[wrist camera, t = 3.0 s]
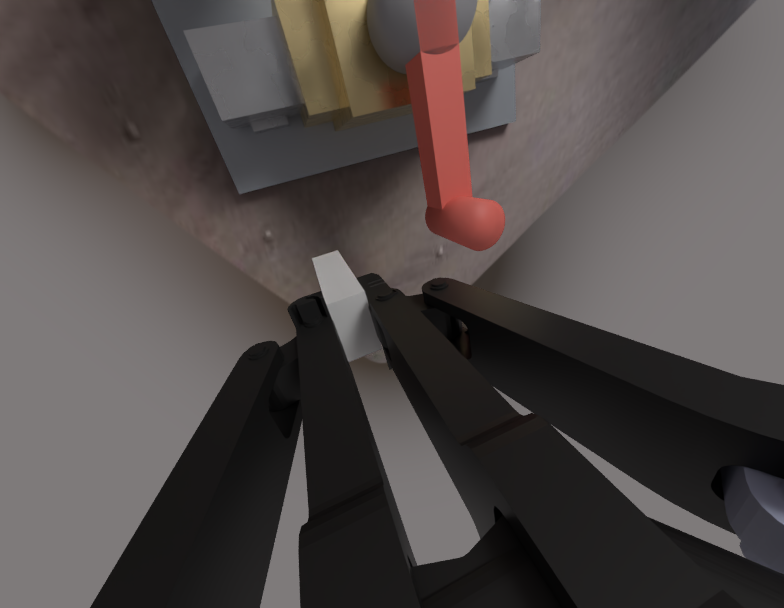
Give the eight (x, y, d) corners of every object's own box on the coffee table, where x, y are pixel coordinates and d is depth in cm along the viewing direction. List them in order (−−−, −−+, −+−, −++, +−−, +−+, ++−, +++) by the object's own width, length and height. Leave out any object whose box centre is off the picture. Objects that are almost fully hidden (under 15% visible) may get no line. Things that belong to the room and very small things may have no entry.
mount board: (503, -60, 22) (512, -70, 21) (508, 122, 28) (515, 121, 27) (148, -14, 17) (140, -23, 16) (241, 193, 23) (239, 194, 22)
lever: (356, -31, 14) (393, -142, 9) (438, -42, 15) (515, -150, 10) (410, 240, 20) (449, 262, 15) (465, 222, 21) (519, 237, 16)
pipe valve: (496, -19, 22) (576, -92, 16) (500, 92, 25) (567, 67, 19) (192, 29, 18) (143, -43, 12) (244, 153, 21) (226, 146, 15)
